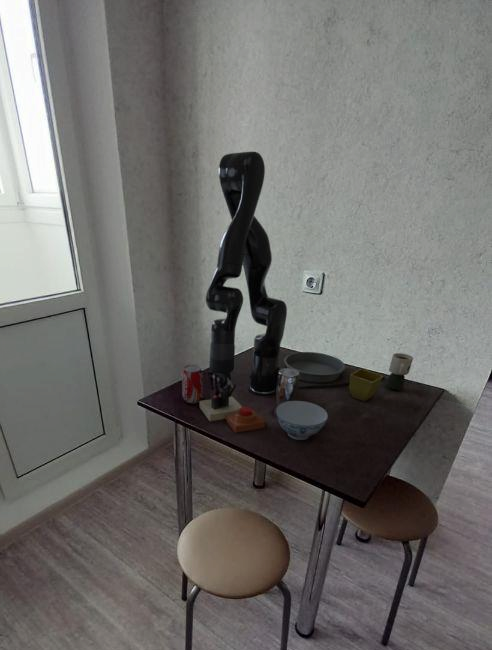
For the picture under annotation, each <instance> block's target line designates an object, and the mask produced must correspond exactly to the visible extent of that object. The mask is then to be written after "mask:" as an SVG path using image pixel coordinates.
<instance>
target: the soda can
mask: <svg viewBox="0 0 492 650" xmlns="http://www.w3.org/2000/svg"><path fill="white" fill-rule="evenodd" d="M203 393H204V372H203V371H202V367H201V366H200V365H197V364H188V365H185V366H184V367H183V370H182V372H181V394H182V395H181V396H182V400H183V401H184V402H186V403H188V404H198V403H200V401H203Z"/></svg>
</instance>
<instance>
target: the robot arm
mask: <svg viewBox="0 0 492 650" xmlns="http://www.w3.org/2000/svg"><path fill="white" fill-rule="evenodd" d="M265 175H266V166H265V161H264V158H263V156H262V155H261V154H260V153H259V152H257V151H243V152H242V151H241V152H233V153H227V154H223V156H222V157H221V158H220V160H219V164H218V178H219V184H220V188H221V192H222V194H223V197H224V200H225V204H226V206H227V209H228V212H229V215H230V218H231V221H230V223H229V225H228V226H227V227H226V230H225V231H224V233H223V235H222V237H221V239H220V243H219V248H218V253H217V259H216V260H217V262H216V268H215V271H214V273H213V275H212V279H211V281H210V283H209V286H208V288H207V291H206V293H205V303H206V306H207V308H208V309H209V310H211V311H213V312H218V313H225V314H226V317H225V318H218V319H215V320H213V321H212V322H211V327H210V328H211V329H210V331H211V332H210V334H211V335H210V345H209V370H210V371H207V378H208V382H209V383H208V384H209V386H210V387H209V388H210V390H212V391H213V395H219V407H220V408H222V407H225V406H226V398H227V397H231V396H232V395H233V393H234V391H235V389H236V386H237V385H236V384H235V383H232V381H231V380H232V377H231V373H232V372H233V371H234V369H235V355H236V343H235V341H236V339H235V338H236V326H237V323H238V320H239V316H240V313H241V310H242V308H243V304H244V295H243V292H242V291H241V289H240V288H238V287H231V286H226V285H225V284H226V282H227V281H228V280H232V279H238V278H240V276H241V274H242V269H243V271H244V276H245V281H246V286H247V291H248V292H247V293H248V300H249V308H250V314H251V318H252V320H253V321H254V322H255V323H256V324H258V325H262V326H265V327H266V330H265V332H264V333H259V334H257V335H255V336H254V339H253V349H252V352H253V353H252V363H251V374H250V375H249V379H250V385H249V390H250V392H252V393H253V394H256V395H260V396H269V395H273V394H274V393H276V382H277V376H278V371H279V370H280V369H281V367H280V366H279V360H280V352H281V344H282V341H283V338H284V334H285V329H286V321H287V317H288V307H287V304H286V302H285V301H284V300H283V299H282V300H281V299H279V298H274V297H270V296H269V295H268V292H267V290H266V289H267V288H266V279H267V276H268V274H269V271H270V269H271V266H272V262H273V255H272V254H273V253H272V248H271V242H270V238H269V235H268V233H267V232H266V230H265V228H264V227H263V225H262V223H261V222H260V221H259V220H258V218H257V217H256V216H255V214H256V210H257V207H258V203H259V201H260V196H261V193H262V189H263V186H264V182H265ZM382 380H385V376H383V378H382ZM349 384H350V381H349V382H342V383H334V384H314V385H312V384H311V385H304V386H303V385H302V386H298V389H309V388H331V387H341V386H347V385H348V386H349Z"/></svg>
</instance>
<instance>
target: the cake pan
mask: <svg viewBox="0 0 492 650" xmlns="http://www.w3.org/2000/svg"><path fill="white" fill-rule="evenodd" d="M283 362H284V364H285V365H286V368H289V369H294V370H297V371H298V372H299V380H301V381H304V382H308V383H314V384H315V383H317V384H322V383H323V384H324V383H331V382H335V381H336V380H338V379H339V378H340V376H341V373H343V372H344V371H345V369H346V364H345V363H344V362H343V361H342V360H341V359H339V358H337V357H335V356H333V355H329V354H326V353H321V352H313V351H297V352H292V353H290V354H287V355H286V357H285V358H284V359H283Z"/></svg>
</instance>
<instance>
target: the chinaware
mask: <svg viewBox="0 0 492 650" xmlns="http://www.w3.org/2000/svg"><path fill="white" fill-rule="evenodd" d="M276 417H277V421H278V424H279V425H280V427H281V428H282V430H283V431H284V432H285V433H287V436H288V437H289V438H291V439H293V440H297V441H305V440H308V439H309V438H310V437H312V436H314V435H316V434H317V433H319V432H320V431H321V430H322V428H323V427H324V426H325V424H326V422H327V420H328V411H326V409H324V408H323V407H321V406H319V404H315V403H313V402H309V401H304V400H303V401H302V400H294V401H289V402H285V403H282V404H280V405H279V406H278V407H277V416H276Z"/></svg>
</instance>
